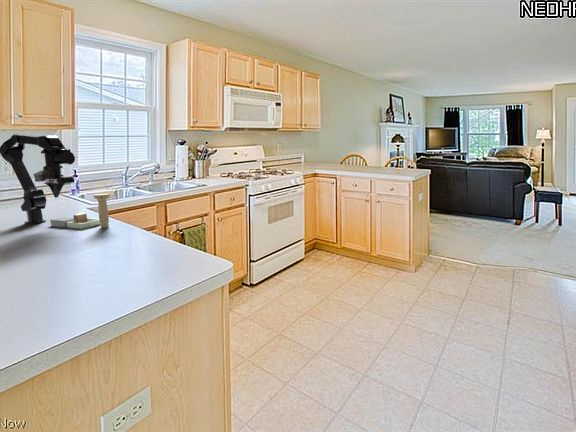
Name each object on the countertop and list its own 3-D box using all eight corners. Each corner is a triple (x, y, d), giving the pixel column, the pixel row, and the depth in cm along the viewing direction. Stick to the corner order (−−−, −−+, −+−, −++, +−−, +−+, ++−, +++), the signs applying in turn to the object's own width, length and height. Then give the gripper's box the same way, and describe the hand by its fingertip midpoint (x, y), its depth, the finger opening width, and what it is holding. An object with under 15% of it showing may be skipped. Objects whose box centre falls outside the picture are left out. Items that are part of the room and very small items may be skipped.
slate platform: (51, 226, 182) (50, 219, 181) (64, 223, 188) (63, 216, 188) (65, 227, 178) (64, 221, 178) (78, 224, 185) (77, 218, 184)
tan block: (73, 214, 179) (77, 215, 178) (82, 212, 184) (86, 213, 183) (74, 225, 180) (78, 226, 179) (83, 223, 185) (87, 223, 184)
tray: (67, 227, 179) (66, 222, 178) (85, 223, 188) (85, 217, 187) (82, 229, 175) (82, 223, 175) (100, 224, 184) (100, 219, 184)
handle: (112, 227, 178) (109, 194, 175) (96, 228, 175) (93, 195, 172) (112, 225, 182) (109, 193, 179) (97, 226, 180) (94, 194, 177)
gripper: (21, 164, 176) (25, 198, 179) (51, 165, 169) (54, 201, 172) (44, 162, 186) (48, 195, 189) (73, 164, 179) (76, 198, 182)
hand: (56, 197), depth 183 cm, fingers closed
